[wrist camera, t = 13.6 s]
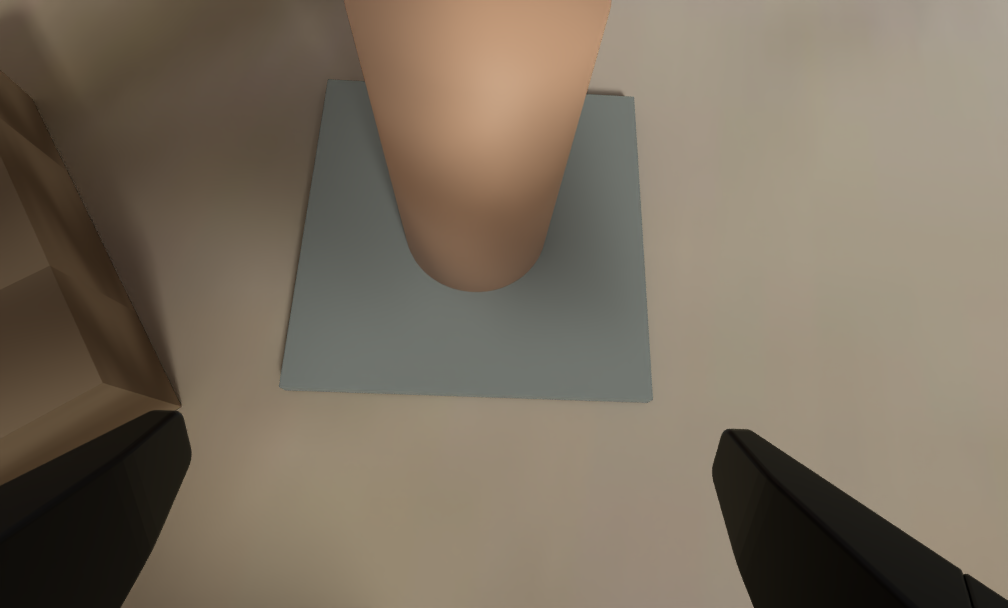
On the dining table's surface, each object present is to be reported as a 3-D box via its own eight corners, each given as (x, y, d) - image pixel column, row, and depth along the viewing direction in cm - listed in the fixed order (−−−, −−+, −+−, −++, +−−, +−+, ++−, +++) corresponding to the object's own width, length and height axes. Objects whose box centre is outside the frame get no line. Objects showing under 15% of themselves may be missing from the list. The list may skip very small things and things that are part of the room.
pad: (647, 402, 19) (652, 399, 18) (285, 390, 18) (278, 386, 18) (630, 106, 22) (634, 96, 22) (331, 89, 22) (327, 79, 21)
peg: (573, 246, 20) (665, 18, 10) (453, 318, 19) (432, 137, 9) (496, 144, 21) (515, -145, 11) (379, 206, 20) (293, -57, 10)
